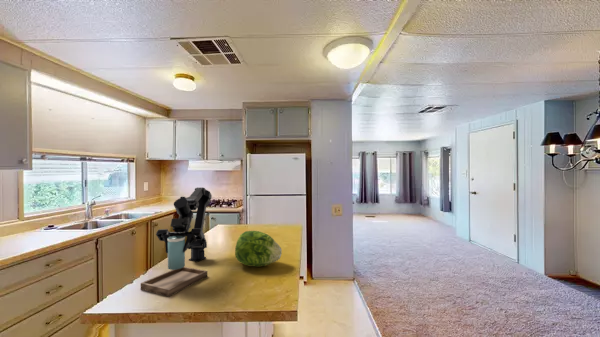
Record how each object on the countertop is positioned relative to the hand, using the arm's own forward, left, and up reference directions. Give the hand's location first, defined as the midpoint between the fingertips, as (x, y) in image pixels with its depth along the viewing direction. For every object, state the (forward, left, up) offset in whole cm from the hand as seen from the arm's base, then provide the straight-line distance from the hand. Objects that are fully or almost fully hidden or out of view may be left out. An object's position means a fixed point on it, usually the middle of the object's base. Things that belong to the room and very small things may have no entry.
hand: (175, 252), depth 106 cm
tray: (-1, +1, -13) cm, 13 cm away
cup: (-1, +1, -7) cm, 7 cm away
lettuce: (+21, +32, -14) cm, 41 cm away
